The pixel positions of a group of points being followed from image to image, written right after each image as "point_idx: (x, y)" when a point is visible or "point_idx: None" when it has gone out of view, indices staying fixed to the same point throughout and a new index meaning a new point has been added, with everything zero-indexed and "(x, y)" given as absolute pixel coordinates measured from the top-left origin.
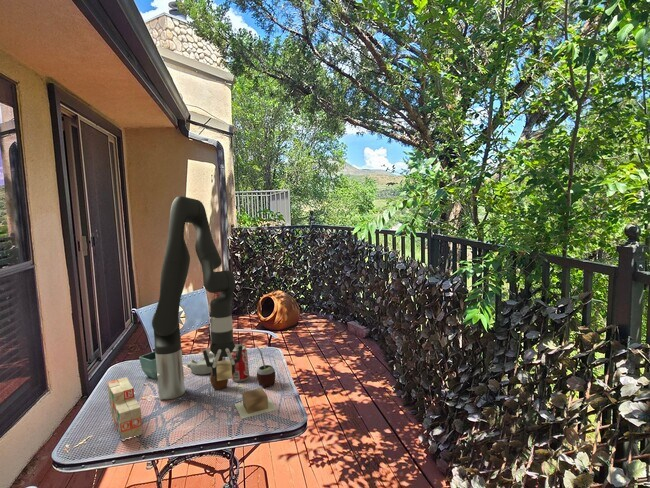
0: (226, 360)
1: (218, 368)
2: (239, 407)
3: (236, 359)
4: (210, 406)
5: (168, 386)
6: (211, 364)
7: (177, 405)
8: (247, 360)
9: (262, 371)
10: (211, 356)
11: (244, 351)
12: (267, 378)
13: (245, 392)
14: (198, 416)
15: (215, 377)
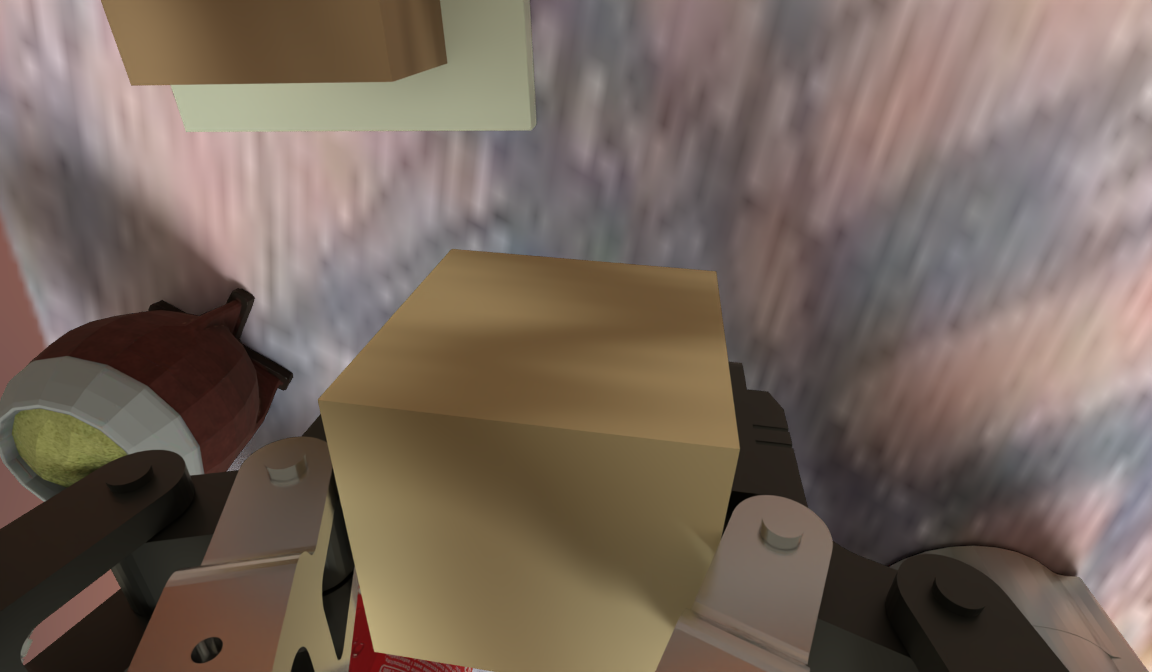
0: (437, 649)
1: (688, 406)
2: (491, 16)
3: (160, 537)
4: (751, 266)
5: (1079, 656)
6: (852, 605)
7: (1000, 433)
8: None
9: (107, 410)
10: None
11: None
12: (112, 329)
13: (347, 55)
14: (926, 116)
15: (731, 362)
